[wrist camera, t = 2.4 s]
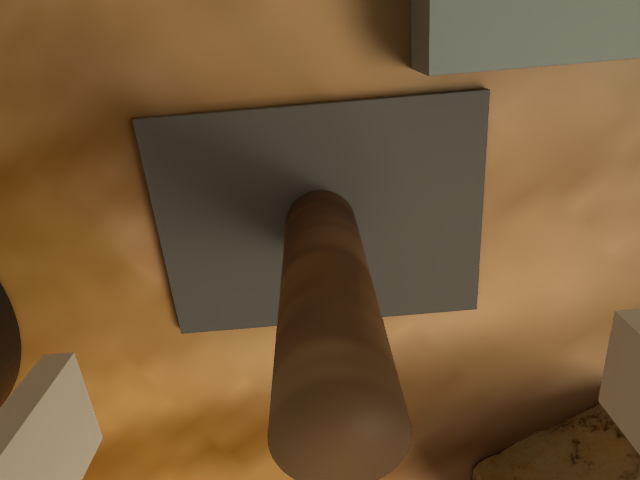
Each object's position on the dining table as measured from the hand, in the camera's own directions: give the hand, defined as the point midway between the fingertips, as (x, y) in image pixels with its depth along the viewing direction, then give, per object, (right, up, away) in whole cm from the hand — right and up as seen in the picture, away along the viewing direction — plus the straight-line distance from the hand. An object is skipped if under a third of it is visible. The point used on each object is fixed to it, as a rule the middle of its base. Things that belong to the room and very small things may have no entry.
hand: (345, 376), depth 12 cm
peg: (-1, +4, +9) cm, 10 cm away
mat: (-1, +4, +9) cm, 10 cm away
